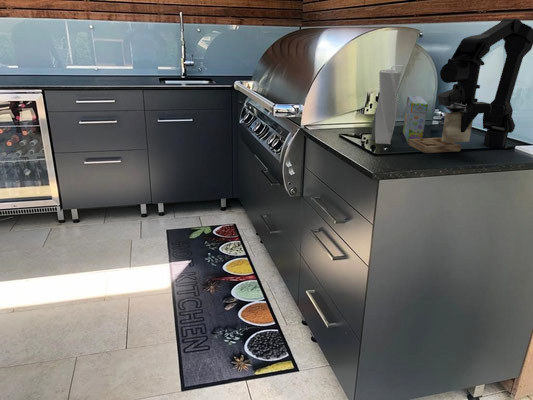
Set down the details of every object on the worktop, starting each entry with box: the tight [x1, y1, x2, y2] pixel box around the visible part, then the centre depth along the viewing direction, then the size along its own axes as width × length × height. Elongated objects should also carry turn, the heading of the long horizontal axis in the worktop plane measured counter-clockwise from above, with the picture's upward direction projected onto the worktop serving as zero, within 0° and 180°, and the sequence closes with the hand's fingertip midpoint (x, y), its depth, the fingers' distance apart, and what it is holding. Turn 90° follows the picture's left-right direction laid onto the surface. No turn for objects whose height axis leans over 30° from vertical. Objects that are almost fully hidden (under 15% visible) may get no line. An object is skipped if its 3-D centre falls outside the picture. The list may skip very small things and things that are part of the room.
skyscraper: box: [370, 64, 405, 145], centre depth 153 cm, size 8×8×28 cm
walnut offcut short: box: [418, 140, 434, 146], centre depth 148 cm, size 3×5×1 cm, turn 18°
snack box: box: [402, 95, 429, 143], centre depth 163 cm, size 21×6×15 cm, turn 168°
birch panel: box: [441, 112, 474, 143], centre depth 139 cm, size 3×8×9 cm, turn 102°
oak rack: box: [407, 137, 462, 154], centre depth 150 cm, size 13×11×3 cm
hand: (459, 131), depth 139 cm, fingers closed on birch panel, 3 cm apart
